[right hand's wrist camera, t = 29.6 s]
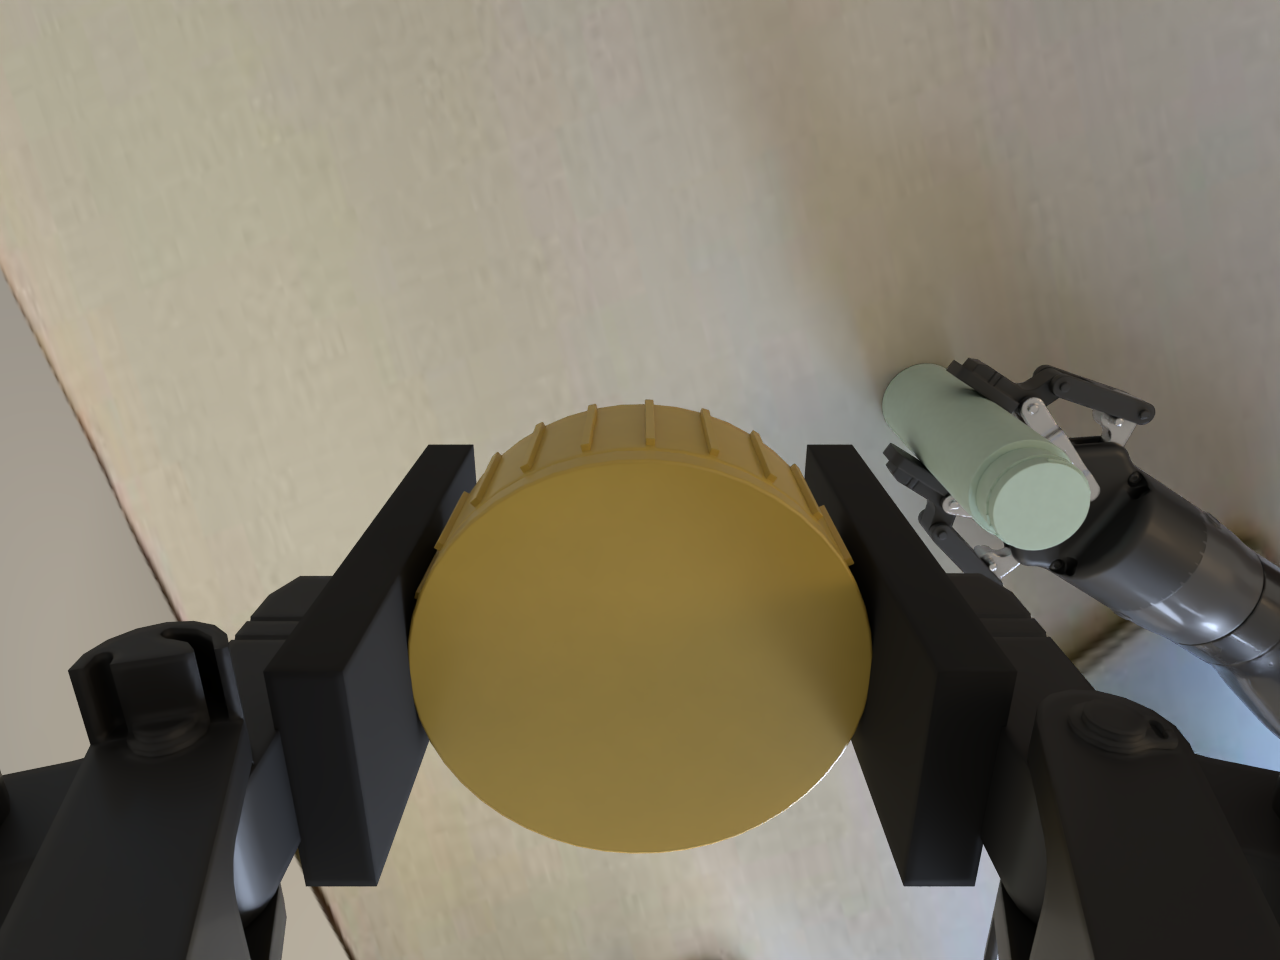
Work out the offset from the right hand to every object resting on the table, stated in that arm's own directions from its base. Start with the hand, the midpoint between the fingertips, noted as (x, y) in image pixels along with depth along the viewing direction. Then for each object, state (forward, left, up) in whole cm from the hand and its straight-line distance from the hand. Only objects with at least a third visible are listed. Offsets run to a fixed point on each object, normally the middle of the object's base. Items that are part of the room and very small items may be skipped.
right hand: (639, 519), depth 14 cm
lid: (0, 0, +4) cm, 4 cm away
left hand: (+8, +15, -30) cm, 35 cm away
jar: (+10, +17, -37) cm, 42 cm away
